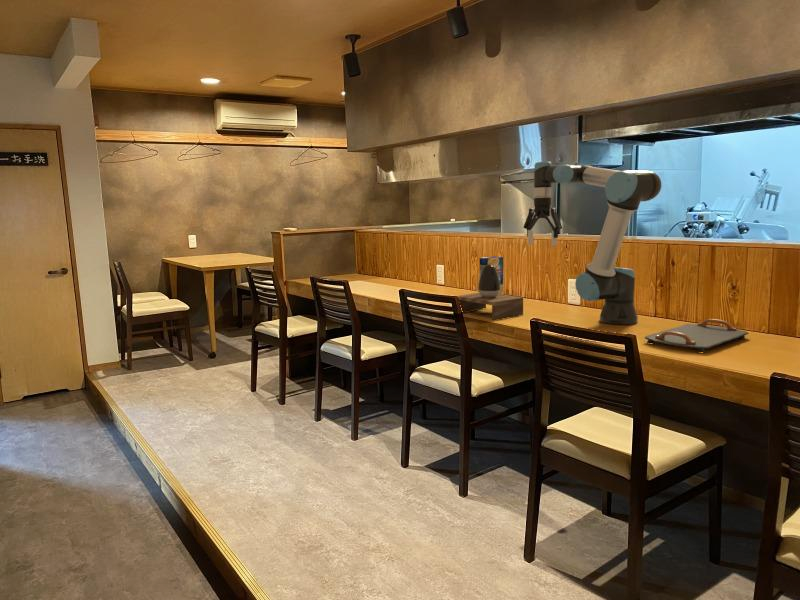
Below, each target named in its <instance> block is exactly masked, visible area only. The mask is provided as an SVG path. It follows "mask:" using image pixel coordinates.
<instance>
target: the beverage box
mask: <svg viewBox="0 0 800 600" xmlns="http://www.w3.org/2000/svg"><path fill="white" fill-rule="evenodd" d="M488 264H490V265H493V266H494V267H495V269H496V271H497V274H498V277H499V282H500V291H499V294H501V295H504V256H486V257H485V256H483V257H479V276H480V275H481V272H482V269H483V268H484V266H486V265H488Z"/></svg>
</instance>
